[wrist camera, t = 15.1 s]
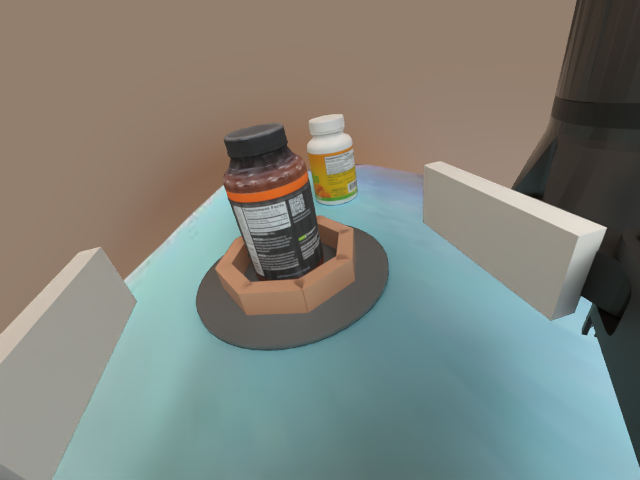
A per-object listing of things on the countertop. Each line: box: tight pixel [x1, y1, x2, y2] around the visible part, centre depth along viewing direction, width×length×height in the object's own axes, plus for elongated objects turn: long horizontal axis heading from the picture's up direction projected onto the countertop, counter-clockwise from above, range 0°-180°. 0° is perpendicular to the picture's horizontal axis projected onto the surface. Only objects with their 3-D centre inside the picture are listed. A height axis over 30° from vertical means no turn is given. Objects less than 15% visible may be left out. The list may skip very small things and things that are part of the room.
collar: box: [215, 216, 356, 315], centre depth 24 cm, size 11×11×2 cm
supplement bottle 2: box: [307, 114, 357, 205], centre depth 35 cm, size 5×5×10 cm
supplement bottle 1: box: [223, 123, 324, 281], centre depth 22 cm, size 6×6×11 cm
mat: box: [196, 225, 388, 350], centre depth 25 cm, size 16×16×1 cm
